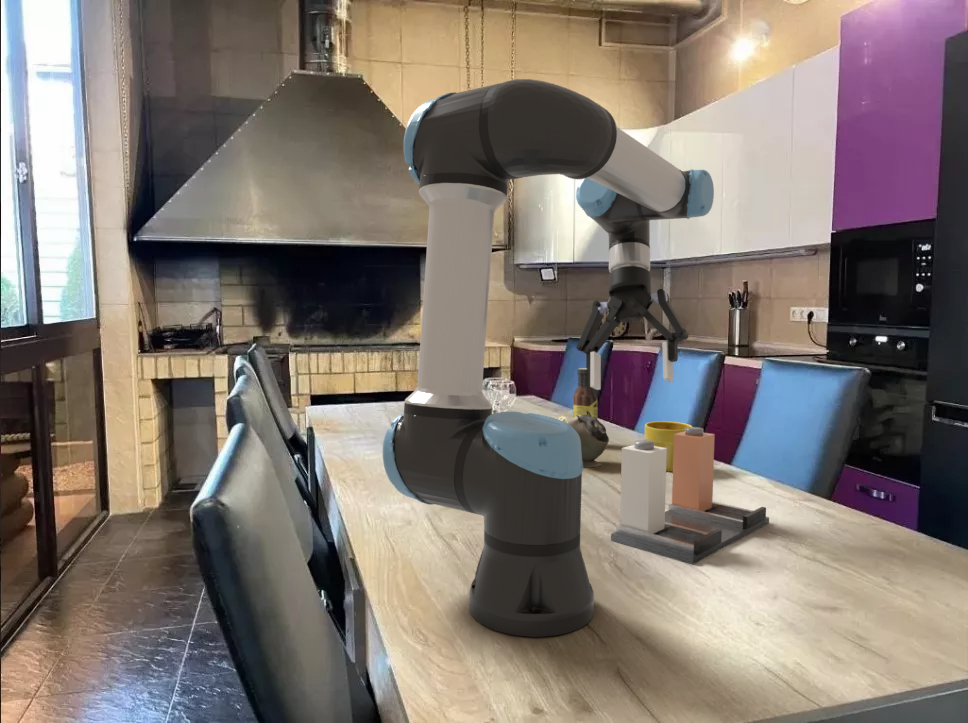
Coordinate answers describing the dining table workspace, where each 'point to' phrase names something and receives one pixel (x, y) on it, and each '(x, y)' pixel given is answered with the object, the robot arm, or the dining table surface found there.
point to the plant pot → (664, 437)
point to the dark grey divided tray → (695, 531)
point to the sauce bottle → (585, 396)
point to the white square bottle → (643, 486)
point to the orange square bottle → (693, 469)
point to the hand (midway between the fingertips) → (630, 384)
